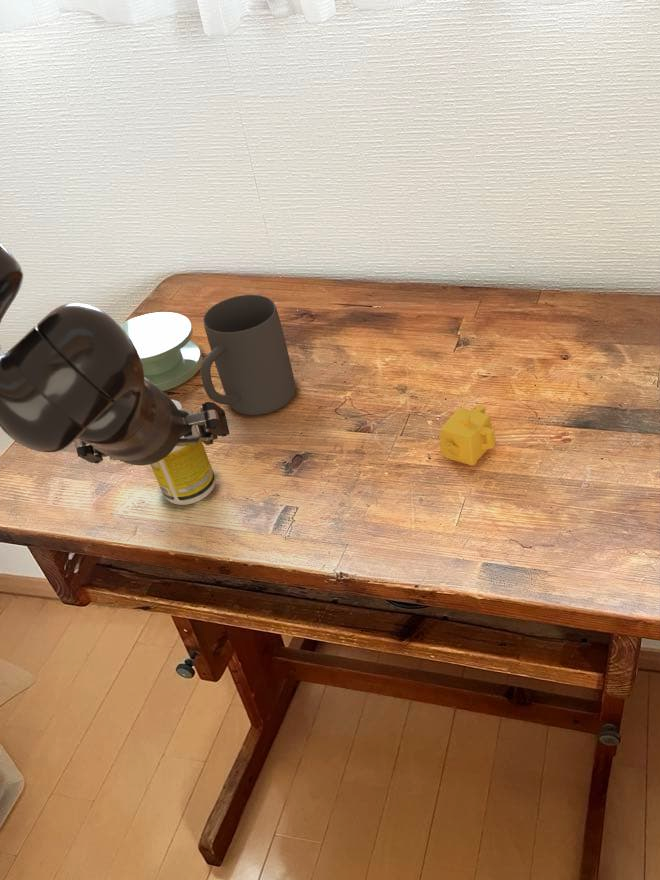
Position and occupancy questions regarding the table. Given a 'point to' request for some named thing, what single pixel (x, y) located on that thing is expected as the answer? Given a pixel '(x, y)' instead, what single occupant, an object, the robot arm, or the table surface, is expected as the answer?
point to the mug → (248, 355)
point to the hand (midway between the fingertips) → (169, 443)
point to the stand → (165, 348)
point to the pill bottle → (185, 473)
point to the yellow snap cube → (467, 435)
